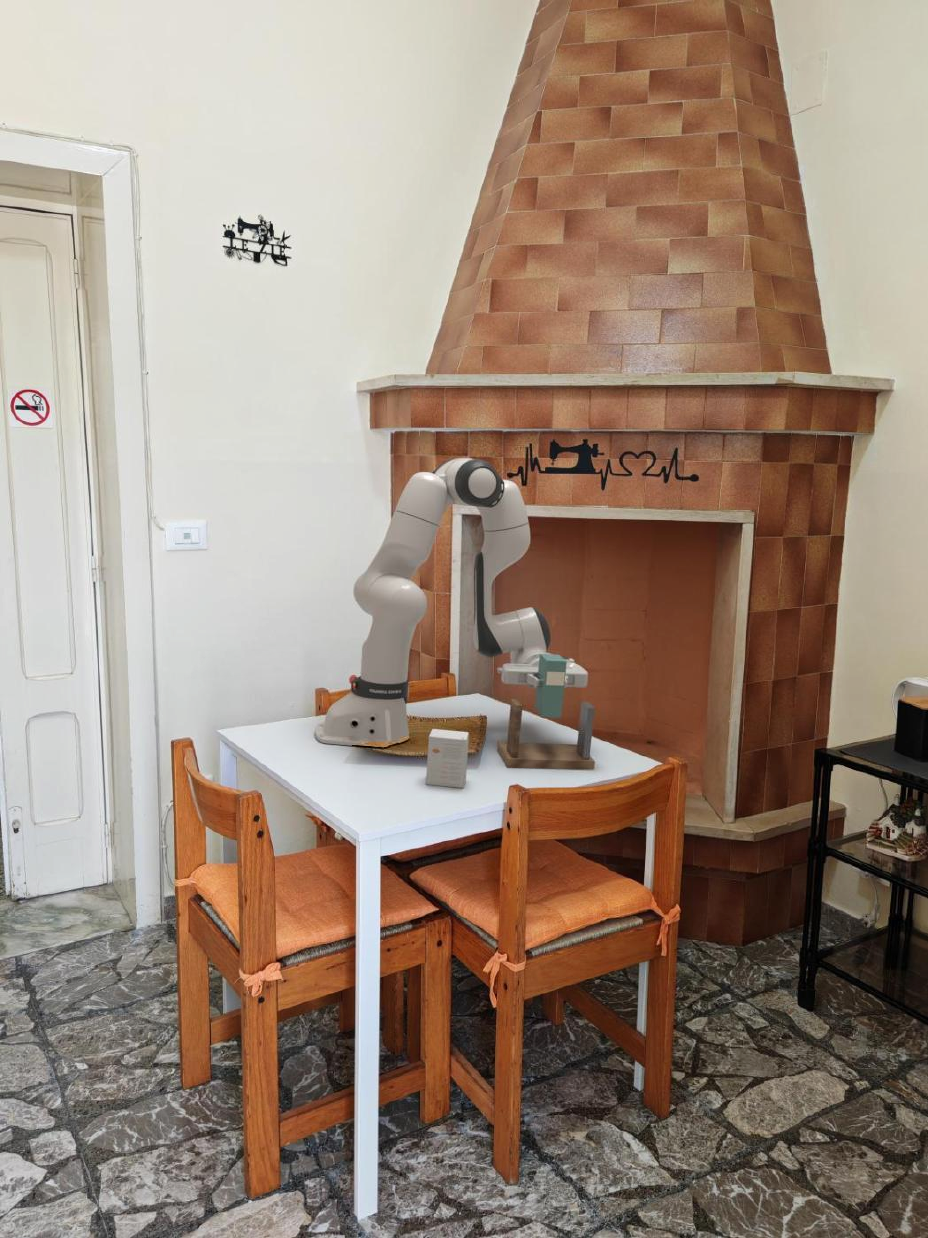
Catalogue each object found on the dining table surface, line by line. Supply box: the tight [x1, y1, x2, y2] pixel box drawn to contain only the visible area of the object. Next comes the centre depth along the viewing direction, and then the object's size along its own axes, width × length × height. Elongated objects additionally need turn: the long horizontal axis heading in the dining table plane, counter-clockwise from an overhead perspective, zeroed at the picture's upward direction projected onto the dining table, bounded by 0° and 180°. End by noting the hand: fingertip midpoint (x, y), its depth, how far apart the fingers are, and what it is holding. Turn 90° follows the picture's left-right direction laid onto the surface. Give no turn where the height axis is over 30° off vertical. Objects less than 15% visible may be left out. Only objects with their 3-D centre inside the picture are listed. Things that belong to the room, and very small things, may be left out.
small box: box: [425, 728, 470, 789], centre depth 192 cm, size 8×6×10 cm
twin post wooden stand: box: [496, 698, 596, 770], centre depth 211 cm, size 20×12×14 cm, turn 98°
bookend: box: [576, 701, 595, 760], centre depth 210 cm, size 2×6×12 cm, turn 9°
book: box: [534, 653, 567, 719], centre depth 210 cm, size 4×7×13 cm, turn 9°
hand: (551, 684), depth 209 cm, fingers closed on book, 4 cm apart
